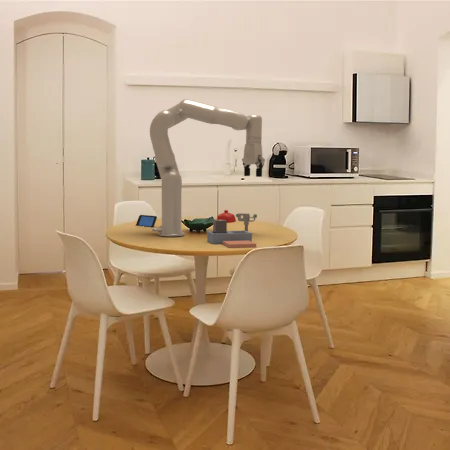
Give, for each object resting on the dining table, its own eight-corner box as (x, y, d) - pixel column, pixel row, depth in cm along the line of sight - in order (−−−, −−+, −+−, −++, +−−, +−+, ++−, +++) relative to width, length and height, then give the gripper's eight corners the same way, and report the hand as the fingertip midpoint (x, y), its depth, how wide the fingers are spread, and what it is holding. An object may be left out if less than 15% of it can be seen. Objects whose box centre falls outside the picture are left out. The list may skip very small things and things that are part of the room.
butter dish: (229, 226, 363) (229, 211, 362) (212, 225, 369) (212, 210, 368) (239, 224, 372) (240, 209, 371) (222, 223, 378) (222, 208, 377)
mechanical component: (255, 234, 325) (256, 214, 324) (235, 233, 327) (235, 213, 326) (256, 233, 328) (257, 213, 327) (236, 232, 330) (236, 213, 329)
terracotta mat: (229, 247, 275) (229, 244, 275) (222, 244, 286) (222, 241, 286) (256, 247, 278) (256, 243, 278) (248, 243, 289) (248, 240, 289)
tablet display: (127, 229, 342) (127, 216, 342) (139, 227, 351) (139, 214, 350) (145, 230, 336) (145, 217, 336) (157, 229, 345) (157, 215, 344)
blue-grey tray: (212, 244, 287) (212, 233, 286) (207, 241, 296) (207, 231, 296) (251, 243, 291) (251, 233, 291) (245, 240, 301) (245, 230, 301)
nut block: (215, 243, 290) (215, 220, 289) (212, 241, 295) (213, 219, 294) (226, 243, 291) (226, 220, 290) (223, 241, 296) (223, 219, 295)
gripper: (237, 141, 322) (236, 175, 323) (258, 140, 307) (257, 177, 309) (249, 141, 326) (248, 175, 328) (270, 141, 312) (269, 177, 313)
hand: (252, 176), depth 318 cm, fingers open, 9 cm apart
